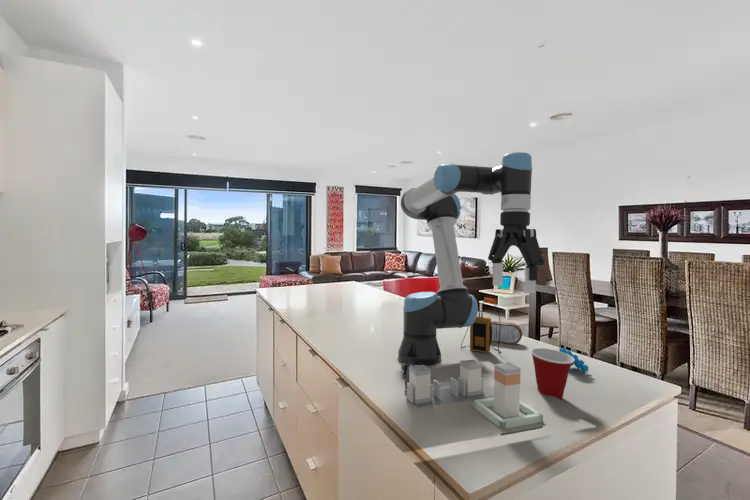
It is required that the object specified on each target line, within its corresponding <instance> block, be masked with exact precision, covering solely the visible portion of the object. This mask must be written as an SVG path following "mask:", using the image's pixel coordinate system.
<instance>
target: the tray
mask: <svg viewBox="0 0 750 500" xmlns="http://www.w3.org/2000/svg"><path fill="white" fill-rule="evenodd" d="M472 401H473V403H472V407H473V408H474V409H476V410H477V411H478V412H480V413H481V415H483V416H484V417H486V418H487V419H488V420H489V421H491V422H493V424H495V425H496V426H498V427H499V428H500V429H501V430H505V429H511V428H516V427H520V426H521V427H522V426H527V425H533V424H537V423H543V422H544V414H543V413H540V412H539V411H538V410H536V409H534V408H533V407H531V406H530V405H528V404H526V403H524V402H523V401H521V400H520V401H519V411H521V412H523V413H524V414H525V415H519V417H513V418H507V419H504V418H502V417H501V416H500V415H498V414H497V413H495V412H494V410H493V411H492V410H491V409H489V408H488V407H494V396H493V397H487V398H480V399H473V400H472ZM543 427H544V426H543V425H540V426H535V427H529V428H525V429H519V430H514V431H513V430H512V431H508V432H503V433H499V435H501V436H502V437H503V436H507V435H514V434H517V433H519V434H520V433H524V432H529V431H533V430H539V429H543Z"/></svg>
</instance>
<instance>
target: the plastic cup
mask: <svg viewBox="0 0 750 500" xmlns="http://www.w3.org/2000/svg"><path fill="white" fill-rule="evenodd" d="M530 352H531V353H530V354H531V355H532V360H533V361H532V362H533V367H534V374H535V383H536V386H537V391H538V392H539V393H540V394H542V395H544V396H545V395H546V396H548V397H555V398H557V399H559V400H560V401H561V400H562V399H563V397H564V393H565V389H566V385H567V382H568V381H567V380H568V377H569V372H570V369H571V367H572V366H573V365H572V363H573V362H574V361H575V359H574V358H573V357H572V356H570V355H568V354H566V353H563V352H560V351H559V350H558V349H557V350H556V349H551V348H546V347H545V348H544V347H535V348H534V347H533V348H532V349H530Z"/></svg>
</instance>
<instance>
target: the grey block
mask: <svg viewBox="0 0 750 500" xmlns="http://www.w3.org/2000/svg"><path fill="white" fill-rule="evenodd" d="M431 372H432V371H431V369H430V368H428V366H427V365H425V366H424V365H415V366H409V383H410V384H411V385H412V386H413V387H414V403H415V404H417V403H424V402H430V383H431V375H432V373H431Z"/></svg>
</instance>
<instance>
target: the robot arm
mask: <svg viewBox="0 0 750 500" xmlns="http://www.w3.org/2000/svg"><path fill="white" fill-rule="evenodd" d="M532 159H533V158H532V155H531V154H530V153H528V152H518V151H517V152H511V153H505V154H504V155H503V157H502V161H501V165H499V166H479V165H478V166H476V165H463V164H454V163H449V164H447V163H446V164H445V163H444V164H439V165H438V166H437V167H436V170H435V172H434V175H433V177H432V178H430V179H428V180H427V181H425V182H424V183H422V184H421V185H419V186H417V187H412V188H409V189H408V190H407V191H405V192H404V193H403V195H402V196H401V199H400V208H401V211H402V212H403V213H404V214H405V215H406V216H407V217H408V218H411V219H412V220H413V219H414V220H419V221H426V224H427V228H429V229H431V232H432V233H431V234H432V240H433V248H434V256H435V261H436V262H435V263H436V268H437V275H438V282H439V289H437V291H436V292H434V291H420V292H414V293H410V294H408V295H407V296H405V297H404V301H403V307H402V308H403V337H402V340H401V343H400V346H399V348H398V353H397V354H398V357H397V359H398V360H399V359H400V360H401V361H400V360H399V361H400V362H402V361H403V362H402V363H404V362H406V363H405V364H407V363H408V361H410V360H412V361H414V363H415V366H418V365H425V366H432V365H433V366H434V365H437V364H439V363H440V362H441V361H442V353H441V349H440V347H439V342H438V339H437V329H439V330H440V329H456V328H458V329H461V328H468V327H470V326H471V325H472V324H473V323H474V322H475V320H476V317H477V316H478V314H479V303H478V301H477V300H478V299H477V298H476V297H475V296H474V295H472V294H470V293H469V288H468V287H467V286H466V285H464V282H463V276H462V275H463V274H462V270H461V269H462V268H461V263H460V257H459V251H458V245H457V238H456V232H455V231H456V230H455V227H454V226H455V225H456V224H457V222H458V219H459V218H460V217H461V216H460V215H461V212H462V211H461V209H462V207H461V206H462V205H461V201H460V198H459V197H458V195H457V194H456V193H460V192H461V193H479V194H482V195H495V194H498V193H499V194H500V197H501V199H500V201H501V202H500V210H501V213H500V217H499V218H500V220H499V221H500V224H499V225H500V226H502V227H503V228H502V229H501V228H497V229H495V233H494V234H495V235H494V239H493V242H492V244H491V247H490V251H489V254H488V257H487V260H488V261H491V263H492V286H493V287H494V286H495V287H496V286H503V273H504V271H503V270H504V263H503V259H504V257H505V256H506V254H507V252H508V251H509V249H510V248H511V247H512V246H513V247H516V248H518V250H519V251H520V253H521V255H522V258H523V259H524V261H525V264H526V266H525V268H524V270H525V271H524V290H523V291H524V294H536V284H537V283H536V282H537V280H538V268H539V267H543V266H545V260H544V258H543V254H542V251H541V247H540V245H539V242H538V239H537V230H536V229H535V228H527V227H528V226H530V224H531V212H529V211H530V210H531V206H532V205H531V204H532V202H531V201H532V200H531V199H532V196H531V193H532V177H533V176H532V175H533V174H532V173H533V172H532V171H533V164H532V163H533V162H532V161H533V160H532ZM476 299H477V300H476Z"/></svg>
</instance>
